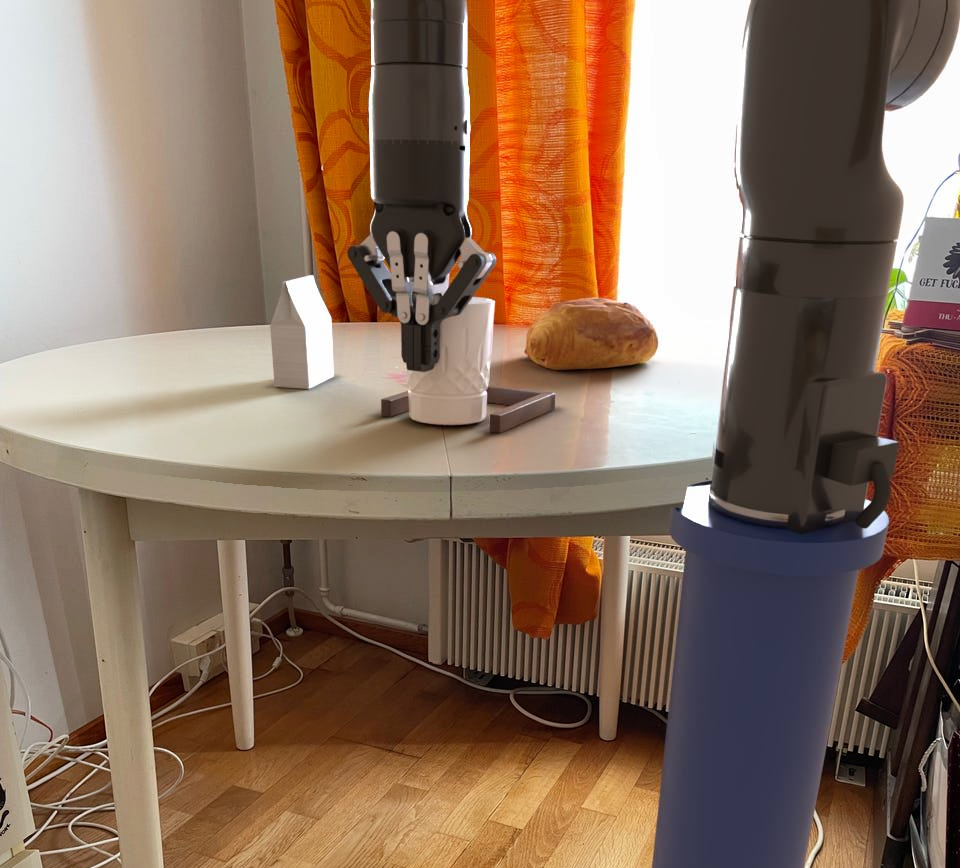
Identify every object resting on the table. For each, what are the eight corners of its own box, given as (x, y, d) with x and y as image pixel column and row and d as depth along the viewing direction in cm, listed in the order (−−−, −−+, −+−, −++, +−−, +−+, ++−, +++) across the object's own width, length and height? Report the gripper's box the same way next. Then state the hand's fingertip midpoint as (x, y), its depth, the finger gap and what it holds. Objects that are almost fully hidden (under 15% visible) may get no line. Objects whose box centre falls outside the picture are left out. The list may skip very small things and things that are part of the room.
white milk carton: (333, 376, 107) (329, 275, 103) (308, 388, 101) (302, 282, 97) (301, 374, 108) (295, 274, 104) (274, 386, 102) (267, 281, 98)
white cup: (478, 429, 86) (481, 305, 82) (390, 423, 88) (388, 301, 84) (501, 413, 93) (504, 297, 89) (418, 407, 95) (418, 294, 91)
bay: (499, 433, 86) (500, 415, 85) (381, 415, 91) (380, 399, 91) (554, 409, 95) (555, 392, 94) (443, 394, 100) (443, 378, 99)
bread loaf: (670, 388, 115) (687, 315, 112) (545, 375, 109) (559, 297, 106) (613, 362, 127) (627, 295, 124) (497, 349, 121) (509, 279, 118)
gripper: (318, 134, 77) (328, 368, 84) (472, 135, 71) (468, 386, 79) (374, 137, 83) (378, 356, 90) (520, 138, 77) (512, 371, 85)
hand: (420, 369), depth 84 cm, fingers closed
